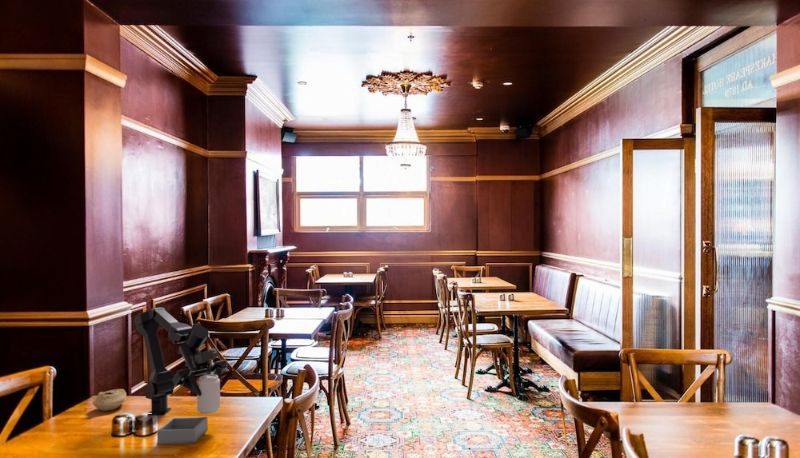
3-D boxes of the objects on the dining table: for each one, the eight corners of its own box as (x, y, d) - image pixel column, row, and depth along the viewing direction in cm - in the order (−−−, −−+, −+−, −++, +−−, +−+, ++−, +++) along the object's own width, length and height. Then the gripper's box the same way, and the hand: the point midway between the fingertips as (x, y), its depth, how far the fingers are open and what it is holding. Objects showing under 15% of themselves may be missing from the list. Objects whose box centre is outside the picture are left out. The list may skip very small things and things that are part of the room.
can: (208, 415, 175) (208, 380, 175) (192, 412, 178) (192, 377, 178) (224, 409, 181) (224, 374, 182) (208, 406, 185) (208, 372, 185)
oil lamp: (133, 401, 213) (133, 381, 213) (116, 413, 198) (116, 392, 198) (105, 402, 212) (105, 382, 212) (86, 415, 197) (86, 394, 197)
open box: (172, 430, 179) (172, 417, 179) (207, 429, 180) (207, 416, 180) (157, 444, 167) (157, 430, 167) (195, 443, 168) (194, 429, 168)
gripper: (176, 346, 175) (195, 385, 168) (224, 337, 190) (243, 372, 183) (164, 366, 179) (182, 404, 173) (212, 356, 194) (230, 390, 188)
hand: (210, 392), depth 179 cm, fingers closed on can, 7 cm apart
